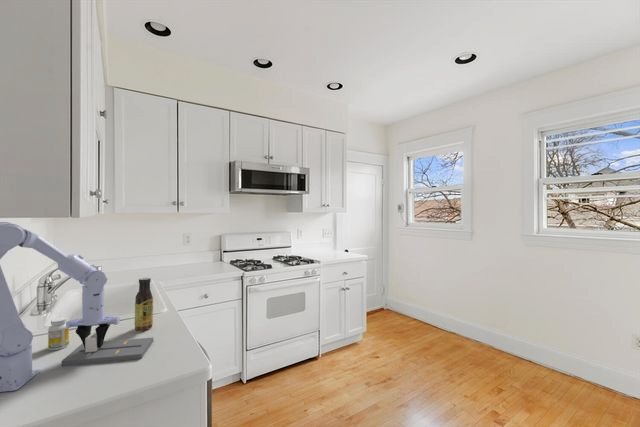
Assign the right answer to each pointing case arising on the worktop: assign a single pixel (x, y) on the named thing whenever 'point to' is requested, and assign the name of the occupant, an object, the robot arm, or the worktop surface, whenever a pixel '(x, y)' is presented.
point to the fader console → (110, 352)
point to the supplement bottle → (58, 334)
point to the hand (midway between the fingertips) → (93, 347)
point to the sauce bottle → (144, 306)
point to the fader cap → (91, 343)
